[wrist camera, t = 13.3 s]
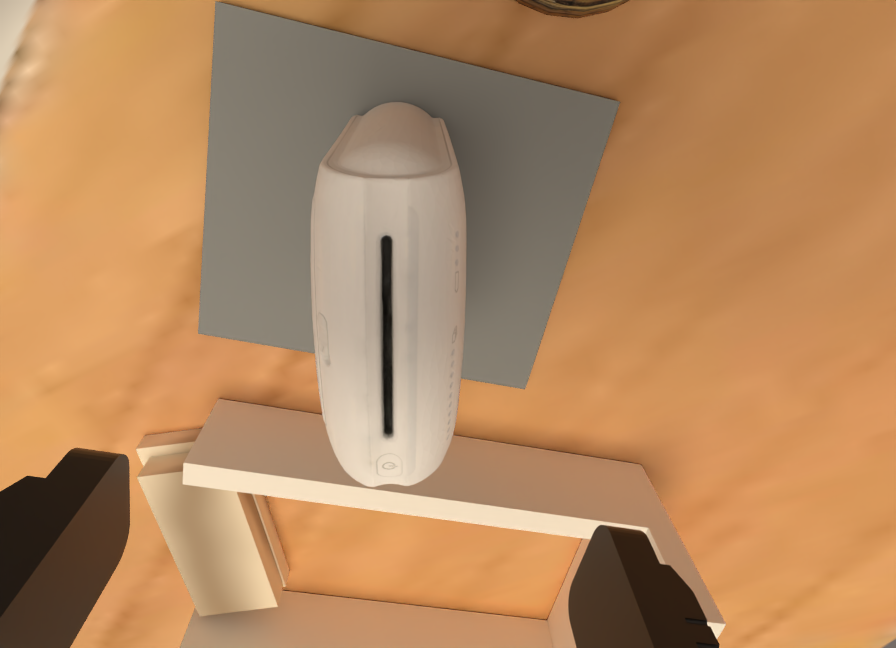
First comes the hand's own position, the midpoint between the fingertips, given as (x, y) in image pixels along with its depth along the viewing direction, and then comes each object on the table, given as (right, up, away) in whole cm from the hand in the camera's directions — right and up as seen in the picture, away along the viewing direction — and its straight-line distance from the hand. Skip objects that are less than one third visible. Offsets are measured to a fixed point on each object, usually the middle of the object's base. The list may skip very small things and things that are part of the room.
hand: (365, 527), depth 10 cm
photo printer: (-1, +8, +16) cm, 18 cm away
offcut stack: (-11, -7, +23) cm, 26 cm away
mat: (-1, +8, +16) cm, 18 cm away
